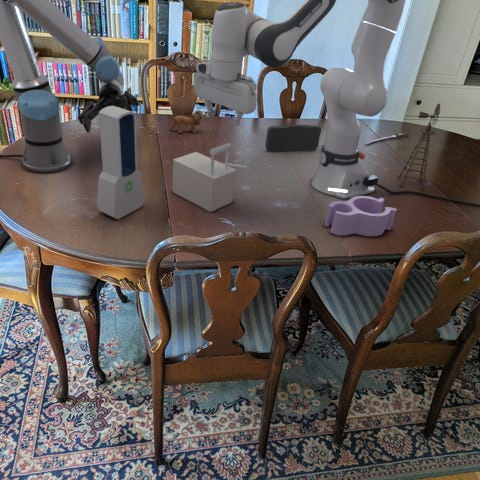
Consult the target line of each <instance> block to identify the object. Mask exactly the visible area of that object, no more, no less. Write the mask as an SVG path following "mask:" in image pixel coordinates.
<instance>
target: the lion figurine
mask: <svg viewBox="0 0 480 480" xmlns="http://www.w3.org/2000/svg"><path fill="white" fill-rule="evenodd" d="M203 120H204V111H202V110H200V109H197V110H195V111H194V112H193V113H192V114H190V115H189V116H183V115H176V116H175V117H174V118H173V119H172V123H171V127H170V128H169V130H168V131H169V132H171V131H176V130H177V132H178V133H179V134H182V133H183V132H182V130H180V128H181V126H182V125H183V126H186V127H189V126H190V132H192V133H193V134H196V133H197V130H196V127H197V126H200V124H201V123H202V122H203ZM176 126H177V127H176ZM175 127H176V128H175Z"/></svg>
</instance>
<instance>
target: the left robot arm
mask: <svg viewBox="0 0 480 480" xmlns="http://www.w3.org/2000/svg"><path fill="white" fill-rule="evenodd" d="M23 14H24V15H25V16H27V17H28V18H29V19H30V20H31V21H33V22H34V23H35V24H37V25H38V26H39V27H40V28H41V29H43V30H44V31H45V32H46V33H47V34H49V35H50V36H51V37H52V38H54V39H55V40H56V41H57V42H58V43H60V44H61V45H62V46H63V47H65V48H66V50H67V51H69V52H71V54H73V55H74V56H76V57H77V58H78V59H79V60H80V61H82V62H83V63H84V64H85V65H86V66H87V67H88V68H90V69H91V71H93V72H94V74H95V75H96V77H97V79H98V81H99V83H100V88H99V93H98V100H97V102H96V103H94V102H93V101H90V102H89V103H88V105H87V107H85V108H84V109H83V111H82V112H81V113H80V114H79V115H78V116H77V117H76V118H77V120H78V121H79V123H80V125H83V128H84V129H85V131H86V133H87V134H88V133H90V132H91V128H92V121H93V120H94V119H95V118H96V117H99V112H100V111H101V110H102V109H103V108H105V107H108V106H115V107H119V108H121V107H122V108H124V109H125V110H128V111H131V112H134V109H135V107H138V106H141V105H140V102H139V100H138V97H137V96H135V95H133V94H131V93H130V92H129V91H128V90H125V91H123V90H124V85H125V82H124V81H125V79H124V75H123V73H122V72H121V69H120V64H119V62H118V60H117V58H115V57H114V56H113V55H112V53H111V52H110V51H109V50H108V47H107V44H106V43H105V42H104V40H103V38H102V37H100V36H94V37H91V35H89V34H88V33H87V32H86V31H85V30H83V29H82V28H81V27H80V26H79V25H78V24H77V23H76V22H75V21H73V19H72V18H70V17H69V16H68V15H66V13H64V12H63V11H62V10H61V9H60V8H59V7H58V6H56V5H55V4H54V3H53V2H52V1H51V0H0V42H1V45H2V48H3V51H4V54H5V55H6V59H7V62H8V64H9V67H10V70H11V73H12V76H13V78H14V79H13V82H12V83H11V87H12V90H13V92H14V95H15V98H16V101H17V104H18V109H19V110H18V111H19V112H20V119H21V125H22V132H23V137H24V148H23V153H22V154H0V158H21V161H22V166H23V168H24V169H25V170H27V171H29V172H33V173H39V174H46V173H56V172H61V171H63V170H66V169H67V168H69V167H70V166H71V163H72V159H71V155H70V153H69V151H68V150H67V149H68V148H67V147H66V145H65V143H64V140H63V132H62V124H61V115H60V103H59V100H58V97H57V96H56V95H55V93H53V90H52V88H51V84H50V81H49V79H48V77H47V76H46V75H44V74H42V72H41V68H40V65H39V62H38V59H37V56H36V53H35V50H34V47H33V43H32V41H31V37H30V34H29V32H28V31H29V30H28V29H27V25H26V22H25V19H24V16H23ZM123 92H124V93H123Z"/></svg>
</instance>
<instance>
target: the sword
mask: <svg viewBox="0 0 480 480" xmlns="http://www.w3.org/2000/svg"><path fill="white" fill-rule="evenodd" d="M402 134H403V133H398V134H397V133H394V134H392V135H389V136H383V137H379V138H376V139H372V140H369V141H367V142H366V146H368V145H371V144H373V143H377V142H381V141H384V140H389V139H393V138H400V137H402V136H404V135H402ZM408 135H409V136H410V133H409V134H406V135H405V136H408Z"/></svg>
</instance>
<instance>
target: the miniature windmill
mask: <svg viewBox="0 0 480 480" xmlns="http://www.w3.org/2000/svg"><path fill="white" fill-rule="evenodd" d="M440 111H441V103H440V102H438V103H437V104H436V106H435V108H434V110H433V113H432V114H429V113H427V112H424V111H419V115H418V119H428V118H430V121H429V122H428V123H427V125H426V127H425V128H420V131H421V135H420V138H419V140H418V141H417V143H416V145H415V146H414V147H413V150H412V152H411V153H410V156H409V157H408V158H407V161H406V162H405V165H404V167H403V168H401V172H400V173H399V175H398V178H399V179H400V178H401V177H402V175H403V179H402V180H401V183H400V185H399V186H400V187H403V185H404V183H405V181H406V179H412V180H418V181H419V182H421V181H422V183H421V191H422V190H423V191H424V188H425V182H426V180H427V179H426V171H427V167H428V157H429V147H430V142H431V140H430V139H431V135H432V136H434V135H437V132H436V130H434V129H435V127H434V125H435V124H437V123H438V119H439V118H440V116H439V115H440V114H441V112H440ZM423 142H426V143H425V147H422V144H423ZM420 149H421V150H420ZM422 150H424V151H422ZM418 153H421V154H423V158H420V157H417V155H418ZM415 160H420V161H422V162H421V163H416V162H415ZM408 164H409V166H408ZM412 165H416V166H421V168H420V170H415V169H411V168H412ZM405 171H406V172H405ZM409 172H415V173H420V174H419V178H418V177H412V176H408V175H409Z"/></svg>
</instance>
